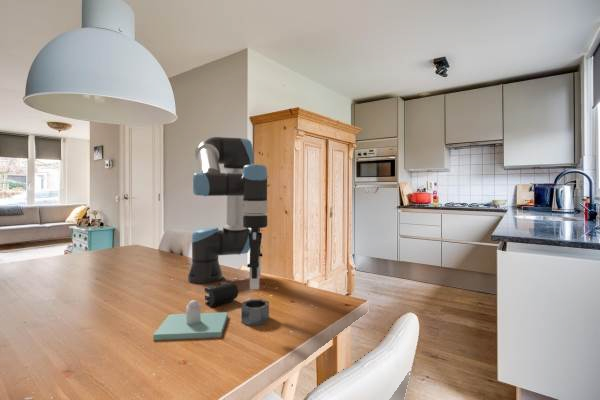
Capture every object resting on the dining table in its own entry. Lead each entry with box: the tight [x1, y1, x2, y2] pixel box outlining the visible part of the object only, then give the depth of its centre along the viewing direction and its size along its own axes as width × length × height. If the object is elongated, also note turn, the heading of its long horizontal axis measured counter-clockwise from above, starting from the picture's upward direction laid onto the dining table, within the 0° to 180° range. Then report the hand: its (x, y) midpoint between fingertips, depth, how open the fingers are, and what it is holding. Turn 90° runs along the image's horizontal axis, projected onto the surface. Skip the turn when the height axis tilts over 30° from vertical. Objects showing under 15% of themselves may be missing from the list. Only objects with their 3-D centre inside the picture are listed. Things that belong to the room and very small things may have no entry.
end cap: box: [204, 281, 239, 308], centre depth 112 cm, size 10×7×7 cm
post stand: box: [152, 299, 229, 341], centre depth 92 cm, size 14×18×8 cm
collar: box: [240, 298, 270, 327], centre depth 98 cm, size 8×8×5 cm
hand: (255, 282), depth 97 cm, fingers open, 13 cm apart
